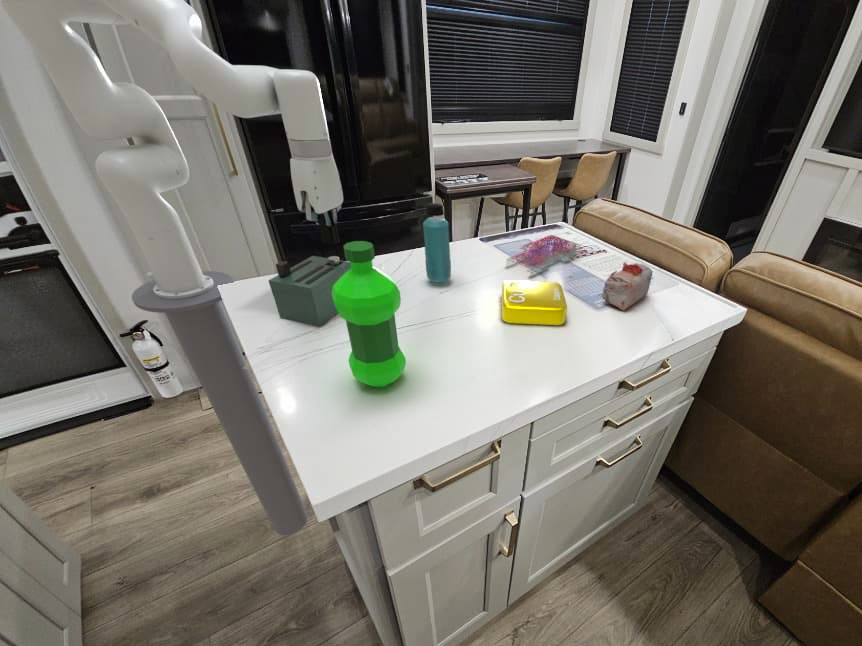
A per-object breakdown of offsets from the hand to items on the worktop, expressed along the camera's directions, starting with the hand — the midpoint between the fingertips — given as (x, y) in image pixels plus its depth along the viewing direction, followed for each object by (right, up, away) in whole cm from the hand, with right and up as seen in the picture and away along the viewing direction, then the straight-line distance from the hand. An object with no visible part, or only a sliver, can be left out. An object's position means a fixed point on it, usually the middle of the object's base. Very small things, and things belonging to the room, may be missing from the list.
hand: (331, 242), depth 92 cm
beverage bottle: (+21, -4, +19) cm, 29 cm away
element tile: (+45, -13, +10) cm, 48 cm away
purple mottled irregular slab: (+50, +7, +37) cm, 62 cm away
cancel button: (-1, -5, +4) cm, 6 cm away
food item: (+70, -10, +18) cm, 73 cm away
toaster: (-4, -14, +5) cm, 15 cm away
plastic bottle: (+16, -31, -15) cm, 38 cm away
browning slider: (-8, -8, -4) cm, 12 cm away
